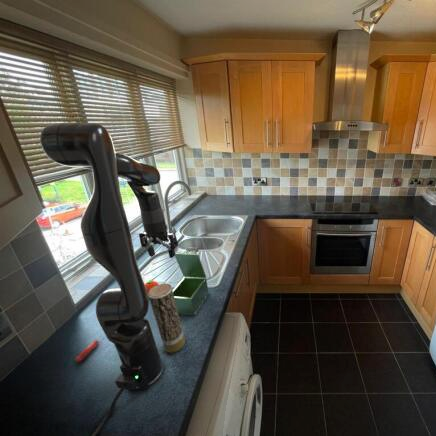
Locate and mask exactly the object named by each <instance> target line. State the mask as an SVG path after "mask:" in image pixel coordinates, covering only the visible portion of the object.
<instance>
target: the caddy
mask: <svg viewBox="0 0 436 436" xmlns="http://www.w3.org/2000/svg"><path fill="white" fill-rule="evenodd" d="M172 291H173V295H174V299H175V303H176V307H177V310H178V314H179V315H183V316H185V315H186V316H194V317H195V316H196V315H197V314H198V312H199V310H200V308H201V307H202V305H203V304H204V302H205V300H206V299H207V297H208V296H209V295H210V292H209V287H208V281H207V277H206V278H197V277H184V276H183V277H182V279H181V280H180V281H179V282H178V283H177V285H176V286H175V287H174V288H173V289H172Z"/></svg>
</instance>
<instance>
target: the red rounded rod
mask: <svg viewBox="0 0 436 436" xmlns="http://www.w3.org/2000/svg"><path fill="white" fill-rule="evenodd" d="M99 343H100V342H99V340H97V339H96V340H93V341H91V343H90V344H89V345H87V347H85V349H84V350H82V351H81V353H79V354H78V355H77V356H76V358H75V362H76V363H80V362H82V361H83V360H84V359H85V358H86V357H87V356H88V355H90V353H91V352H92V351H93V350H94V349H95V348H96V347H97V346H98V345H99Z"/></svg>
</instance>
